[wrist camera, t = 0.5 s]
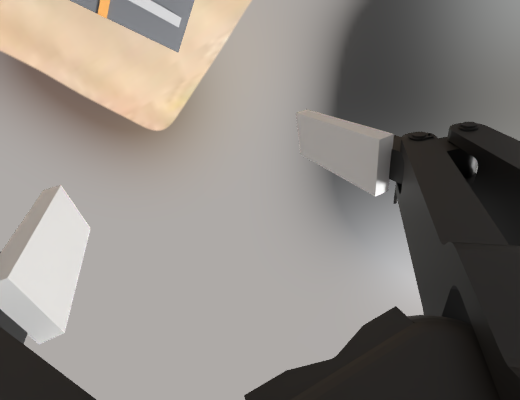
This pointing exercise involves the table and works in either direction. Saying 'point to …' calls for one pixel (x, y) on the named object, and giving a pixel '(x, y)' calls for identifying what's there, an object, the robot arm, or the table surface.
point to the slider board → (147, 17)
